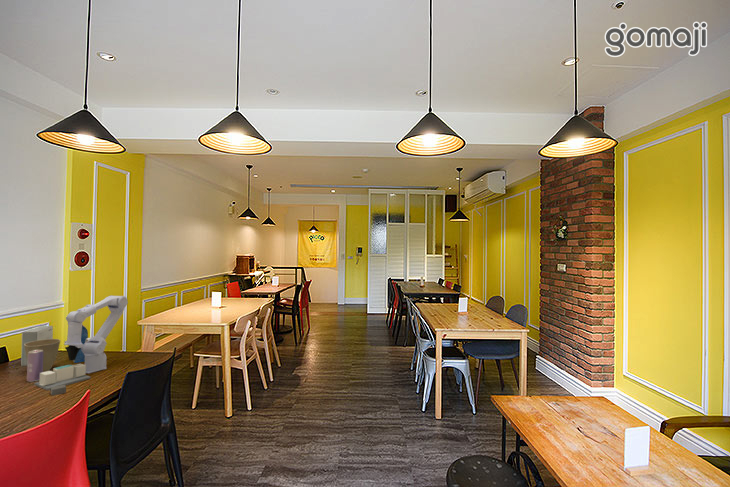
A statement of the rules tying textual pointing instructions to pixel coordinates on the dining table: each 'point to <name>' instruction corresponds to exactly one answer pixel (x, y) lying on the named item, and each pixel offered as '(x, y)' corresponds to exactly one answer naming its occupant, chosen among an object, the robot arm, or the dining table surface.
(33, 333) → the hard drive box
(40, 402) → the dining table surface
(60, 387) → the block
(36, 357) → the beverage can
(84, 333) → the blue food package
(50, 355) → the plant pot
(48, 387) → the board
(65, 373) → the block
